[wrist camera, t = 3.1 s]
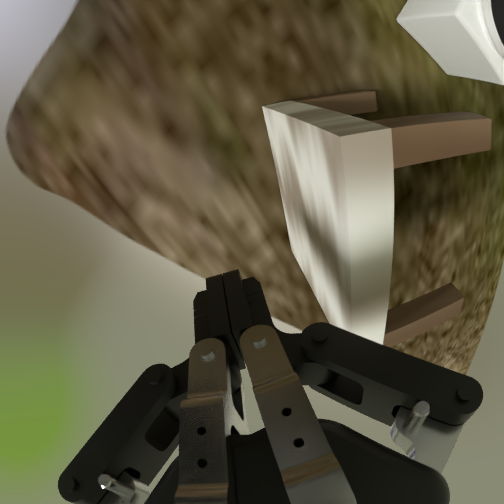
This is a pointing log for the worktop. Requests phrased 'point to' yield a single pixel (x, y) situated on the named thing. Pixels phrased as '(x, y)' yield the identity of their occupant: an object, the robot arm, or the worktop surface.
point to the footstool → (360, 203)
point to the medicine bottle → (460, 35)
